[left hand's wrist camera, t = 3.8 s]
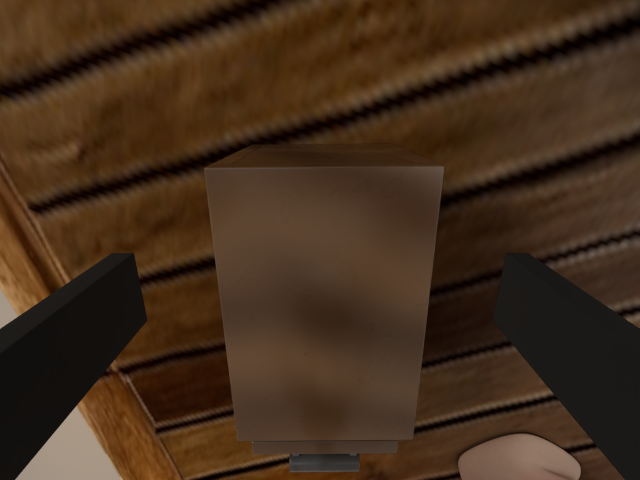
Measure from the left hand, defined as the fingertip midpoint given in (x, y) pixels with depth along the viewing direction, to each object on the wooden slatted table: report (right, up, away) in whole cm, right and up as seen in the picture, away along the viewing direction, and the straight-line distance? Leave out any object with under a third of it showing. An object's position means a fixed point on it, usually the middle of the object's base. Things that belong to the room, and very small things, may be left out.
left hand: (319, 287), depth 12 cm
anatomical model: (+22, -25, +27) cm, 43 cm away
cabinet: (0, +1, +18) cm, 18 cm away
